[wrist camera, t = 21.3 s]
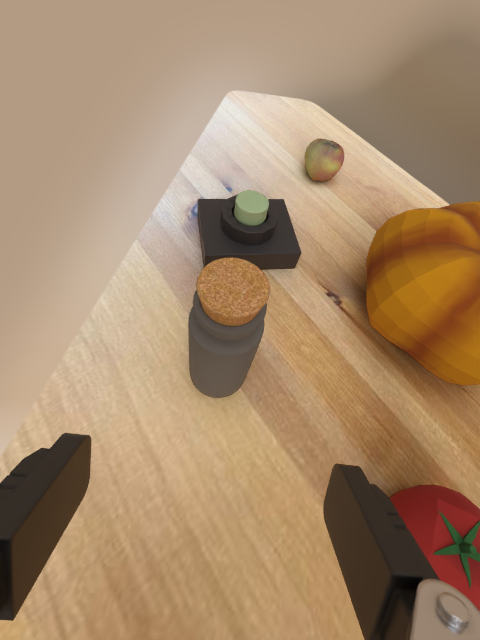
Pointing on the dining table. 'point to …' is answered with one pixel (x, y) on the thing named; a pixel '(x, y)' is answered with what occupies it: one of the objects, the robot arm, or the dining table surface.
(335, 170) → the apple
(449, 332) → the decorative pumpkin
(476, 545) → the tomato
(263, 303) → the bottle
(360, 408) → the dining table surface
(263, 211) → the green button cap
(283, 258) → the button housing
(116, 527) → the dining table surface
